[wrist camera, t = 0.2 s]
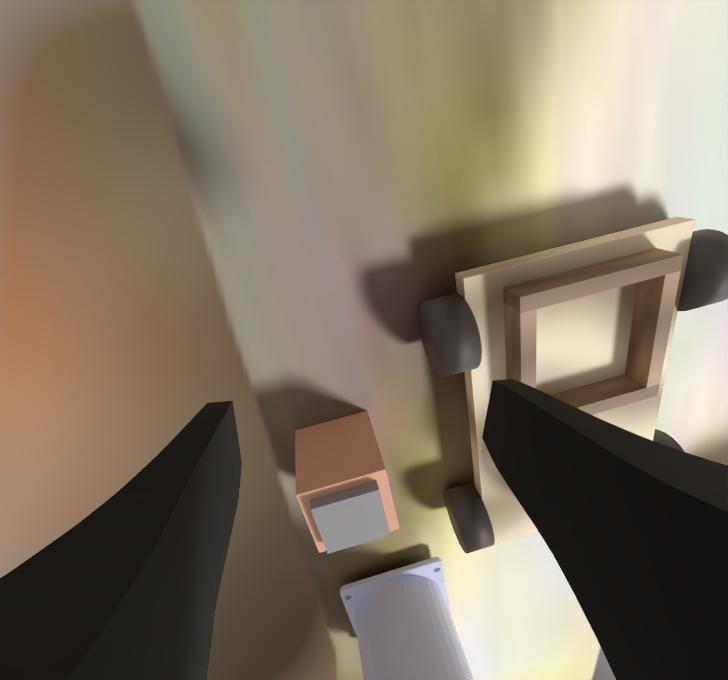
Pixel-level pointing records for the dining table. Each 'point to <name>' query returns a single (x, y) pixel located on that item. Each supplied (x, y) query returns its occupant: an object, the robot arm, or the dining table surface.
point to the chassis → (568, 342)
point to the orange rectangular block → (343, 483)
